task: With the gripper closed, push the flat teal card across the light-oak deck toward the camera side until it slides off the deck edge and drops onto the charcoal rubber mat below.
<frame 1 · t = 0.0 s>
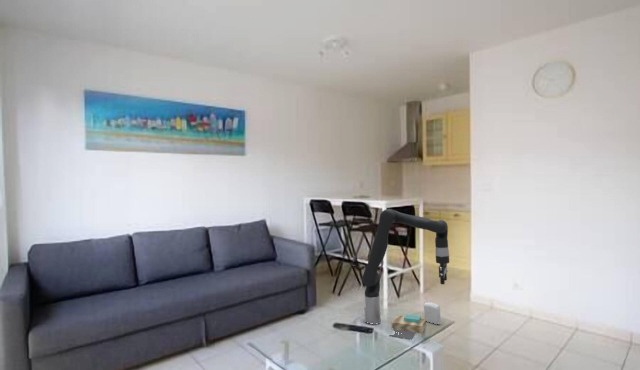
hand: (443, 282, 207), 29 cm above the table, fingers open, 8 cm apart
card: (412, 320, 217), point 4 cm above the table, touching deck
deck: (409, 327, 217), on the table
photo printer: (432, 322, 222), on the table
mat: (402, 334, 207), on the table
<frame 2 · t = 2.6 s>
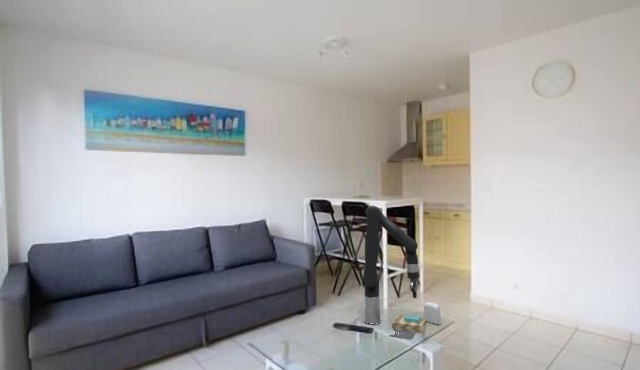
hand: (414, 297, 225), 15 cm above the table, fingers closed
nothing on the table moved.
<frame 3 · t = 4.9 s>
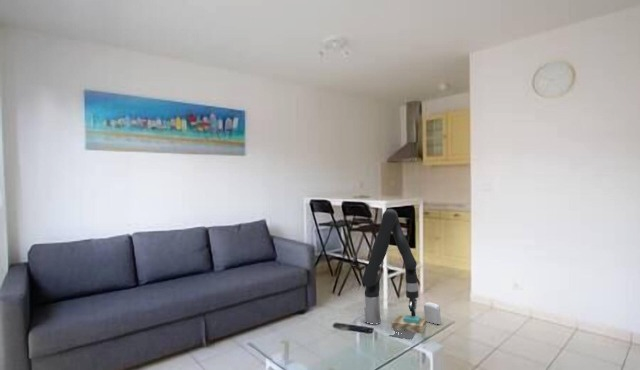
hand: (413, 317, 220), 5 cm above the table, fingers closed
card: (412, 320, 216), point 4 cm above the table
everything else where it was.
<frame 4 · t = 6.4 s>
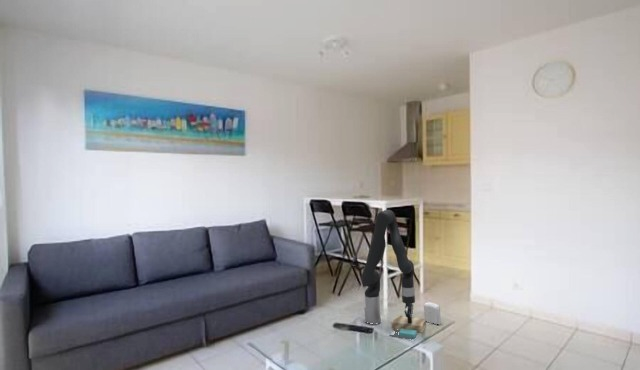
hand: (409, 323, 211), 5 cm above the table, fingers closed
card: (407, 331, 205), point 2 cm above the table, tilted 180°, touching mat
everything else where it was.
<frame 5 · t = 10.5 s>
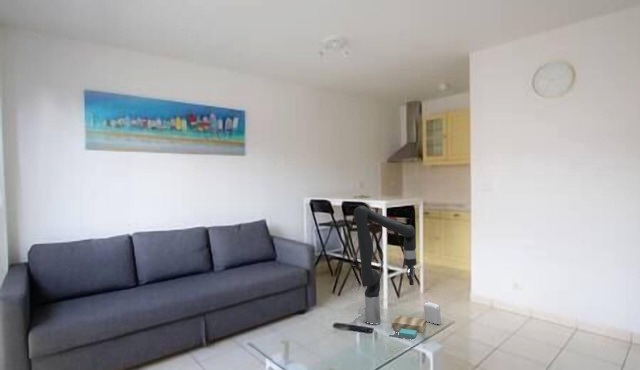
hand: (411, 284, 220), 25 cm above the table, fingers closed
nothing on the table moved.
at the end: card point 2.3 cm above the table; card inside the target area on the mat (3.3 cm from its centre), point 2.3 cm above the mat's base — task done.
